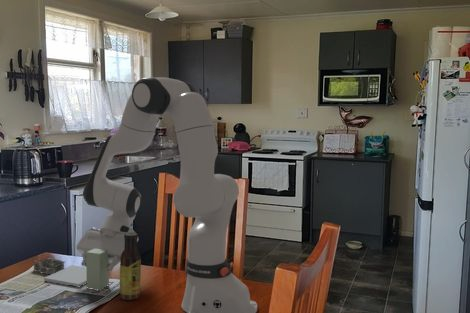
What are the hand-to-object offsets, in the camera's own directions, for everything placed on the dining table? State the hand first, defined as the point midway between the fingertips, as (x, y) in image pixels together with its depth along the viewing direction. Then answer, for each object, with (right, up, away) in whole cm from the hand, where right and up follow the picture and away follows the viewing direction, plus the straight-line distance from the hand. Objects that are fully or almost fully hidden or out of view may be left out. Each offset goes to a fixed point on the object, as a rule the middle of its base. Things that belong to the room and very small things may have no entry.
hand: (96, 267), depth 148 cm
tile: (-10, -6, +9) cm, 15 cm away
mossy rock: (-21, -5, +16) cm, 27 cm away
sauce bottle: (+12, -8, -6) cm, 16 cm away
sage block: (0, -7, +1) cm, 7 cm away
